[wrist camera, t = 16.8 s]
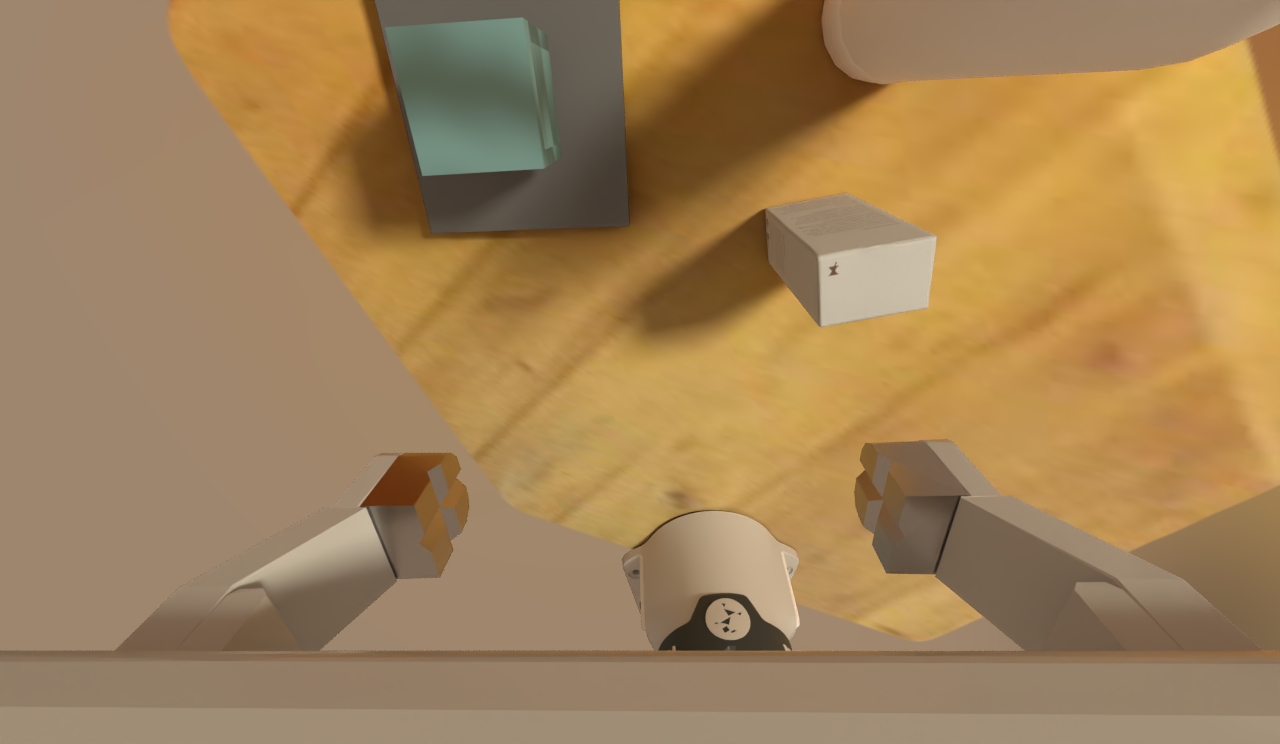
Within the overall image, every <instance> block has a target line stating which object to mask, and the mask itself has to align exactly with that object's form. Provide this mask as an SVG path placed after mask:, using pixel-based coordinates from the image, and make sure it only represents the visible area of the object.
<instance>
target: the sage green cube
mask: <svg viewBox="0 0 1280 744" xmlns="http://www.w3.org/2000/svg"><path fill="white" fill-rule="evenodd" d="M385 30H386V34H387V38H388V42H389V45H390V49H391V53H392V57H393V61H394V65H395V69H396V73H397V77H398V81H399V85H400V89H401V93H402V97H403V101H404V105H405V109H406V113H407V117H408V121H409V125H410V129H411V133H412V137H413V141H414V145H415V149H416V153H417V157H418V161H419V164H420V168H421V172H422V176H431V175H448V174H464V173H481V172H497V171H514V170H530V169H544V168H546V167H547V166H549V165H551V164H552V163H554V162H555V161H557V160H559V159H560V158H562V153H561V145H560V137H559V128H558V120H557V112H556V104H555V96H554V88H553V79H552V71H551V63H550V55H549V47H548V39H547V34H546V33H544V32H543V31H541V30H540V29H538V28H537V27H536V26H534V25H533V24H531V23H530V22H528V21H527V20H526V19H524V18H523V17H522V18H508V19H494V20H480V21H466V22H453V23H439V24H425V25H411V26H398V27H385Z"/></svg>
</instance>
